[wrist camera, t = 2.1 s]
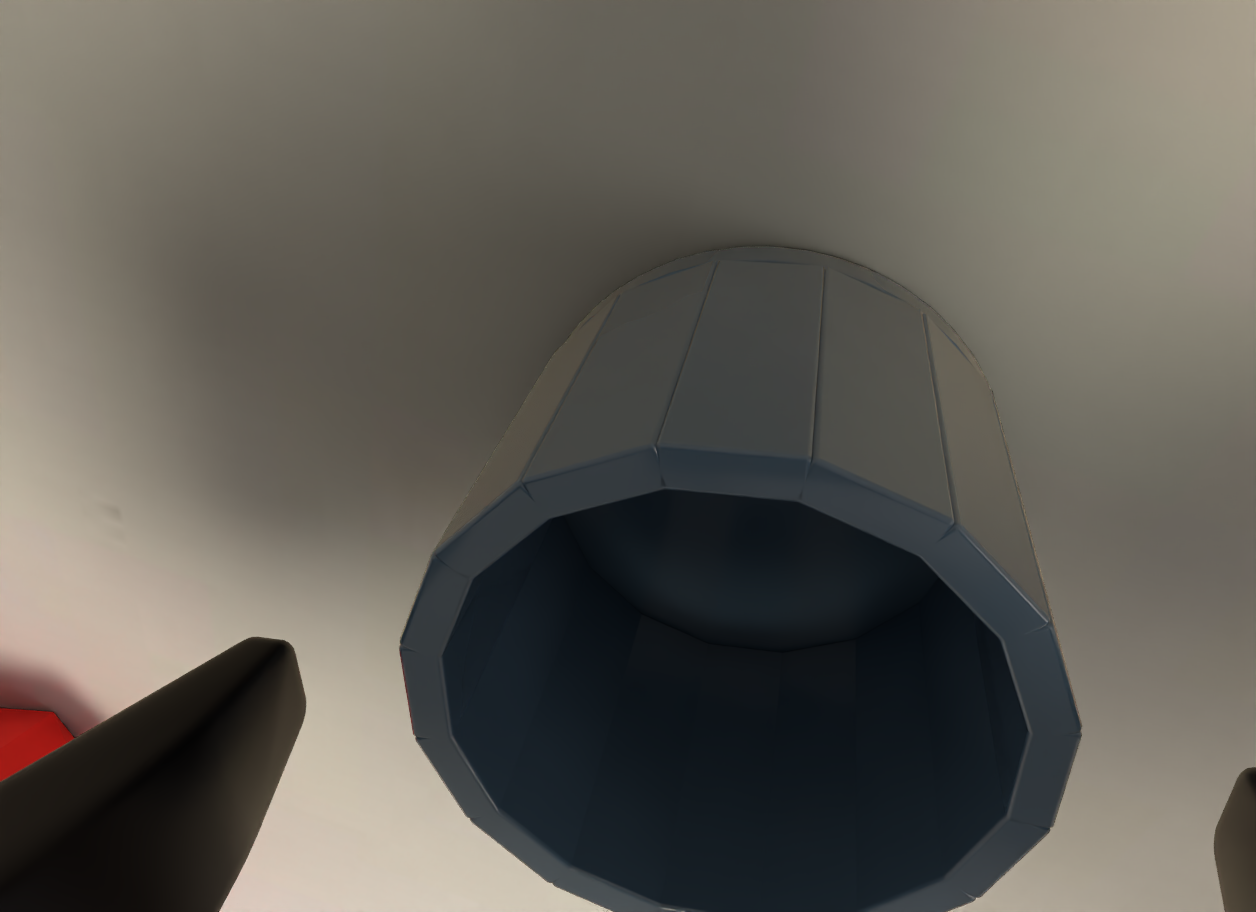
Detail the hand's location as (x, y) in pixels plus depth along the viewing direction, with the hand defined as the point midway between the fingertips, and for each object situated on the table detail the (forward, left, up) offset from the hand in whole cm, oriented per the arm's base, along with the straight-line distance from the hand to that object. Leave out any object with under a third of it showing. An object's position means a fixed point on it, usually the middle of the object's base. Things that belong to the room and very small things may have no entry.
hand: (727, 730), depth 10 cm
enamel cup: (0, 0, -5) cm, 5 cm away
